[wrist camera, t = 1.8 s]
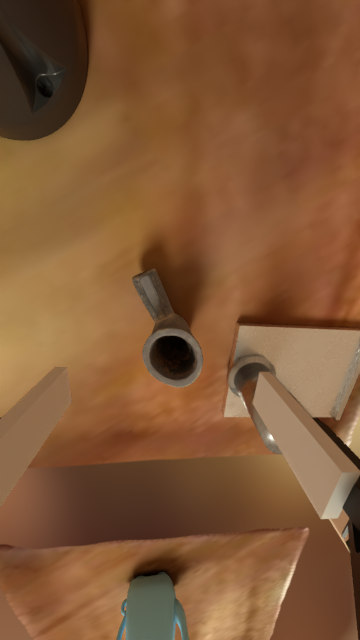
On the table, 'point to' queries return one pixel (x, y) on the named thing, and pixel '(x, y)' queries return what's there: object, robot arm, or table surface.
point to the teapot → (152, 610)
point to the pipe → (167, 336)
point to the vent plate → (292, 369)
